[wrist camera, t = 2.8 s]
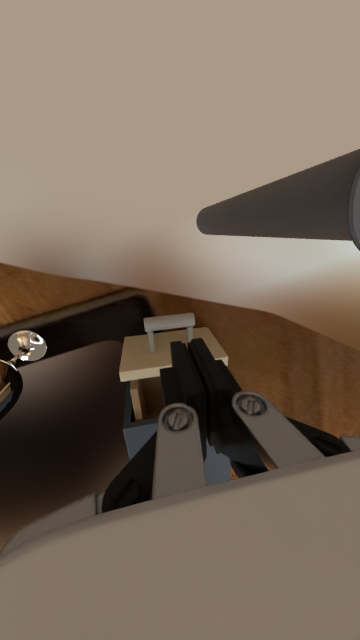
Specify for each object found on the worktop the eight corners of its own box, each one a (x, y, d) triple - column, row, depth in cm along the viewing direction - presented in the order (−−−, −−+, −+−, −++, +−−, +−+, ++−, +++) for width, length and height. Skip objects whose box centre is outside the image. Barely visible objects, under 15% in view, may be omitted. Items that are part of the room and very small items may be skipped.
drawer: (119, 306, 26) (111, 334, 19) (207, 297, 28) (229, 319, 21) (138, 412, 33) (137, 461, 26) (207, 400, 35) (224, 443, 28)
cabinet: (127, 374, 32) (122, 429, 23) (209, 362, 33) (234, 409, 24) (140, 442, 37) (140, 506, 28) (209, 429, 39) (229, 486, 30)
